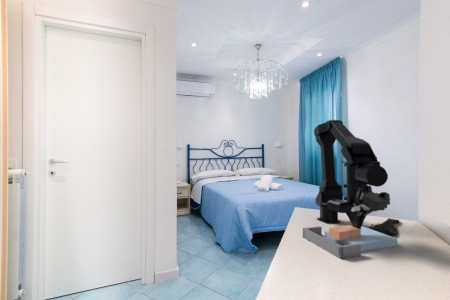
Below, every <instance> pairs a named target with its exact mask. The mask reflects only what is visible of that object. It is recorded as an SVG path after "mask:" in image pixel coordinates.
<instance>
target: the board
mask: <svg viewBox="0 0 450 300" xmlns="http://www.w3.org/2000/svg"><path fill="white" fill-rule="evenodd" d="M324 236H326V237H328V238H330V239H332V240H334V241H336V242H338V243H340V244H342V245H351V244H357V243H359V244H361V252H365V251H372V250H377V249H383V248H389V247H393V246H394V247H395V246H398V238H396V237H393V236H390V235H389V234H387V233H383V232H379V231H374V230H372V229H369V228H368V227H365V226H363V225H362V227H361V238H355V239H346V240H340V241H339V240H337V239H335V238H333V237H331V236H329V230H324Z"/></svg>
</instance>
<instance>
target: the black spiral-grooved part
mask: <svg viewBox="0 0 450 300" xmlns="http://www.w3.org/2000/svg"><path fill="white" fill-rule="evenodd" d="M395 223H400V220H399V219H395V218H387V219H386V220H384V221H382V222H381V223H380V222H377V223H375V224H374V223H371V224H370V226H368V227H367V228H369V229H372V230H374V231H377V232H380V233H383V234H387V235H393V236H397V235H398V234H399V231H398V228H397V226H396V224H395Z"/></svg>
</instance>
